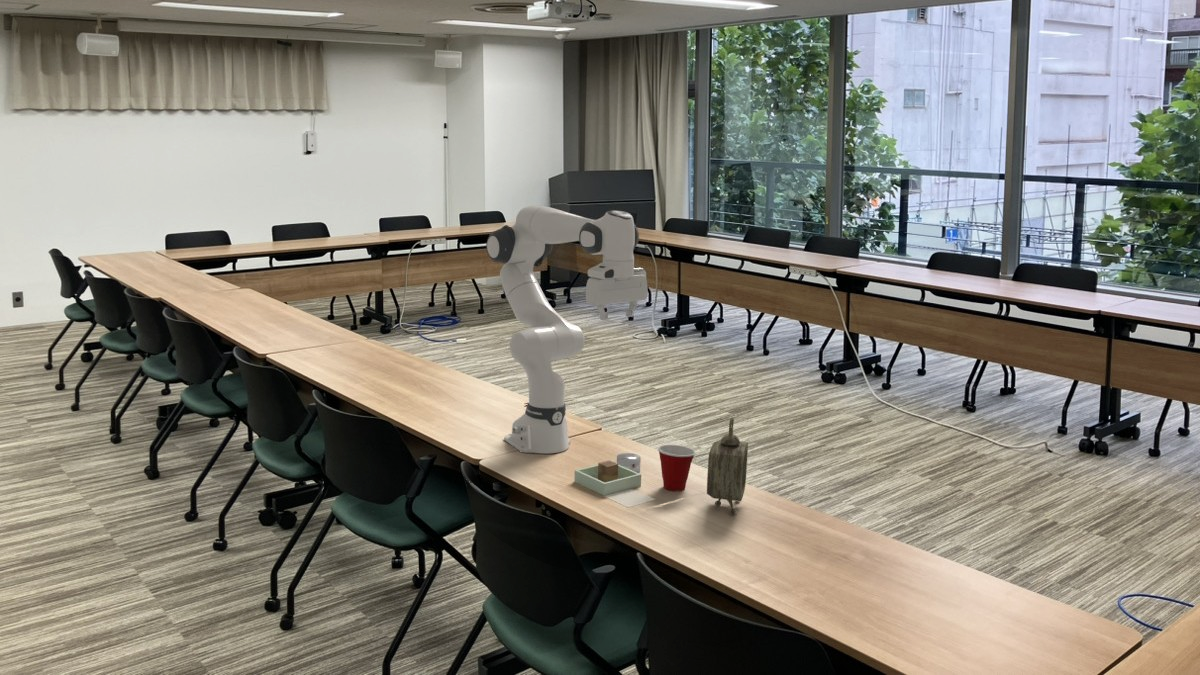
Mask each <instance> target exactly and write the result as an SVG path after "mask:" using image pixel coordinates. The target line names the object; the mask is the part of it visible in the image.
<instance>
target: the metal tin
mask: <svg viewBox="0 0 1200 675" xmlns="http://www.w3.org/2000/svg"><path fill="white" fill-rule="evenodd" d="M641 458H642V457H641V455H639V454H637V453H631V452H624V453H619V454H617V455H616V464H618V465H620V466H623V467H625V468H627V469H630V470H632V471H634V472H637V473H639V474H641Z"/></svg>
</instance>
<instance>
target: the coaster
mask: <svg viewBox="0 0 1200 675" xmlns="http://www.w3.org/2000/svg"><path fill="white" fill-rule="evenodd" d="M603 496H604V495H603ZM604 498H606V499H609V500H611V501H613V502H615V503H618V504H619V505H622V506H624V507H626V508H630V507H635V506H638V505H641V504H644V503H649V502H652V501H656V498H653V497H652V496H648V495H647V494H645V493H642V492H640V491H638V490H635V489H634V488H632V489H628V490H624V491H620V492H617V493H613V494H609V495H605V496H604Z"/></svg>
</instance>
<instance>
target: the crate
mask: <svg viewBox="0 0 1200 675" xmlns="http://www.w3.org/2000/svg"><path fill="white" fill-rule="evenodd" d="M573 482H574V483H577V484H579V485H581V486H583V487H584V488H587V489H588V490H591V491H593V492H595V493H598V494H599V495H602V496H607V495H610V494H614V493H618V492H622V491H625V490H629V489H635V488H638V487H641V486H642V474H641V473H637V472H634V471H632V470H630V469H627V468H625V467H623V466H620V465H618V479H617V480H613V481H609V482H602V481H600V480H598V464H596V465H591V466H587V467H582V468H579V469H574V481H573Z"/></svg>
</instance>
